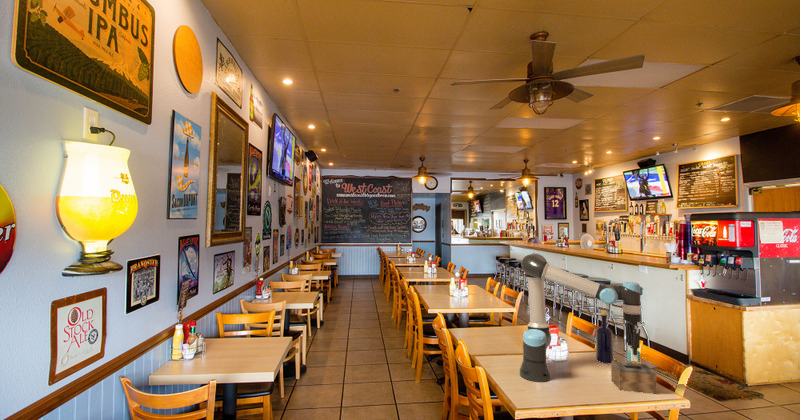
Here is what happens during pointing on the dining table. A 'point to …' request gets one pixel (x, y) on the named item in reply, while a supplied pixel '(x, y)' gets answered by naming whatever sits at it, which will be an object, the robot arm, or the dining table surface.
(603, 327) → the bottle
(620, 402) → the dining table surface
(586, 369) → the dining table surface
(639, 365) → the coin box
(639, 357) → the teal flat square block
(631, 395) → the dining table surface
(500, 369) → the dining table surface
